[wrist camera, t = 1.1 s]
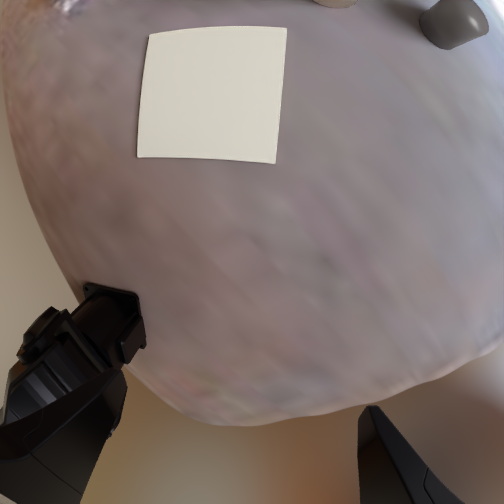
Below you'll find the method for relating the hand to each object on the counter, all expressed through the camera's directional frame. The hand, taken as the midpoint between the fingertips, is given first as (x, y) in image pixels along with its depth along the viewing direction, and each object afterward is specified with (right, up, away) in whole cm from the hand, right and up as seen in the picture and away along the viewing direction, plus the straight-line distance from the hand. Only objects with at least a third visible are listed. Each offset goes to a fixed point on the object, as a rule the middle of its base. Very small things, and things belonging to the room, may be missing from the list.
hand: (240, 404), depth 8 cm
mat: (-3, +16, +8) cm, 18 cm away
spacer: (+15, +23, +3) cm, 27 cm away
